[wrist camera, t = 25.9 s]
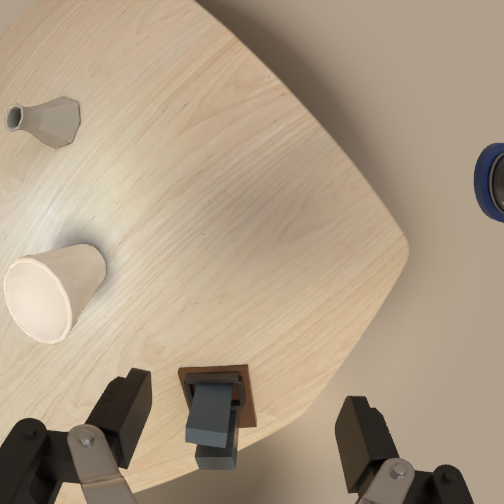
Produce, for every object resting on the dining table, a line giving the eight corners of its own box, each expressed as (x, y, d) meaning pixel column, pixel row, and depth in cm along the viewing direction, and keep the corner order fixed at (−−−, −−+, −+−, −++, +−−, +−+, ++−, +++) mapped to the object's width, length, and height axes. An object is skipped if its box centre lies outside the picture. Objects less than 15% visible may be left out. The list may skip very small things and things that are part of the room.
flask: (85, 95, 34) (41, 83, 24) (77, 149, 36) (31, 150, 26) (44, 97, 34) (-1, 89, 24) (37, 148, 36) (-10, 150, 26)
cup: (105, 311, 42) (60, 361, 30) (52, 274, 41) (-3, 310, 28) (131, 254, 40) (83, 293, 27) (72, 215, 38) (11, 239, 26)
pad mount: (247, 364, 44) (244, 419, 33) (256, 421, 47) (255, 475, 36) (179, 367, 44) (160, 420, 34) (196, 423, 48) (184, 475, 37)
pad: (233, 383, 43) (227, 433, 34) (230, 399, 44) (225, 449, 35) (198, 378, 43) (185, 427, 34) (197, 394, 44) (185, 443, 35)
